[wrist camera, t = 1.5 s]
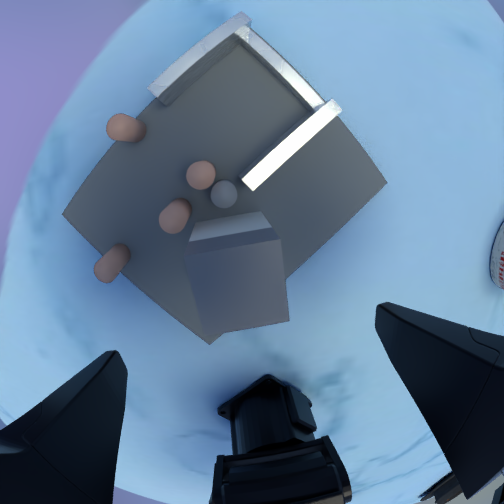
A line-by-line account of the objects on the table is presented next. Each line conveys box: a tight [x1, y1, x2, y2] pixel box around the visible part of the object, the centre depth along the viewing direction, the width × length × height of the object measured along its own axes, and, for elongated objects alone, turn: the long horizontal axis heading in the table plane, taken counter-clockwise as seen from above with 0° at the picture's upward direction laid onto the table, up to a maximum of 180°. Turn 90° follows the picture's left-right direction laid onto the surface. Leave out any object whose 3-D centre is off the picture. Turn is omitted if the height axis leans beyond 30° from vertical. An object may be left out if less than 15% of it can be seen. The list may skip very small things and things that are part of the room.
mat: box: [62, 28, 387, 345], centre depth 17 cm, size 17×14×1 cm
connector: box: [184, 211, 289, 336], centre depth 15 cm, size 4×4×6 cm
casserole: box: [420, 472, 463, 504], centre depth 47 cm, size 25×19×8 cm
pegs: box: [94, 114, 237, 283], centre depth 16 cm, size 9×14×3 cm, turn 44°
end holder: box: [147, 11, 342, 191], centre depth 14 cm, size 7×8×3 cm
